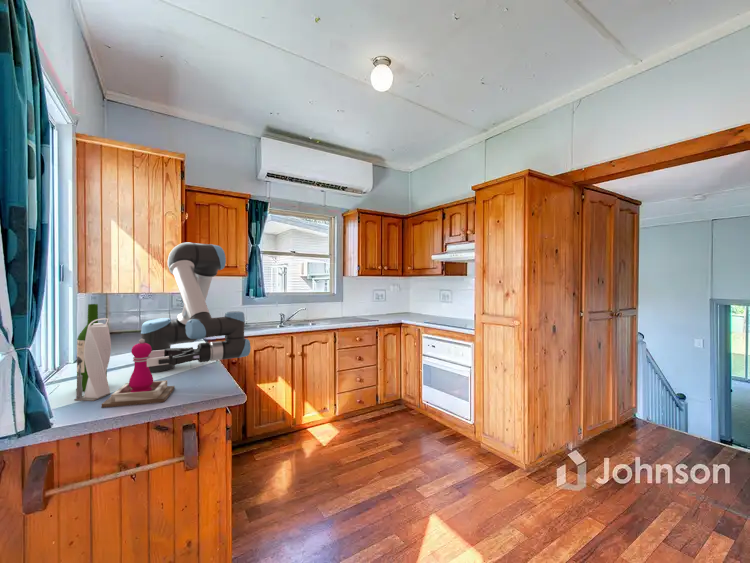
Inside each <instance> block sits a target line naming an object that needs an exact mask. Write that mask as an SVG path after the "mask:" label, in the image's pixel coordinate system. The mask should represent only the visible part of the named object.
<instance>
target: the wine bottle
mask: <svg viewBox="0 0 750 563" xmlns="http://www.w3.org/2000/svg"><path fill="white" fill-rule="evenodd" d="M96 319H99V305H98V303H88V304H87V323H86V325H85V327H84V328H83V329H82V331H80V333H79V334H78V337H77V338H76V339H77V340H76V341H77V342H76V343H77V344H76V377H77V376H78V369H79V364H80V368H81V375H82V388H83V391H82V392H85V390H86V385H87V381H88V374H87V370H86V365H85V358H84V345H85V338H86V333H87V328H88V325H89V324H90V323H91V322H92V321H94V320H96ZM94 323H99V320H97V321H95V322H93V323H92V324H91V325H93V324H94ZM91 325H90V326H91ZM106 377H107V378H108V369H107V370H106Z"/></svg>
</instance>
